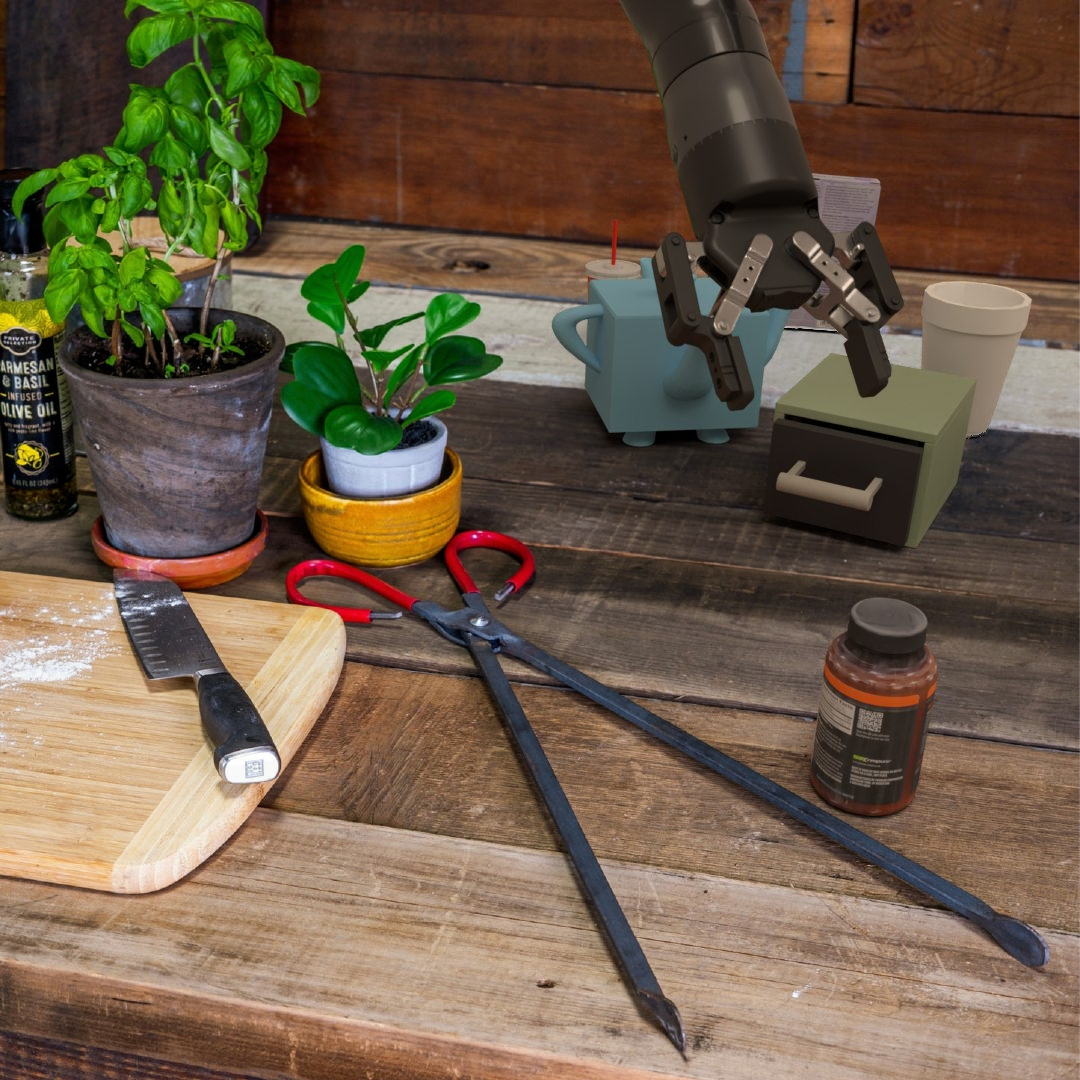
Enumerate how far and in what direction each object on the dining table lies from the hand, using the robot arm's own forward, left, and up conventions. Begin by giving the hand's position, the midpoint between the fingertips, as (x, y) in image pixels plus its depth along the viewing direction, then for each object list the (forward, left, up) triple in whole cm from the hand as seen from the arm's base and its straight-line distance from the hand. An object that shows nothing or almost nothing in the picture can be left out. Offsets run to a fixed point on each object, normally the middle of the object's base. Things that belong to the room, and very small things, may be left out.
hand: (810, 398), depth 71 cm
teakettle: (+23, -39, -20) cm, 49 cm away
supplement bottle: (-8, +7, -20) cm, 22 cm away
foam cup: (0, -53, -20) cm, 57 cm away
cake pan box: (+25, -76, -20) cm, 82 cm away
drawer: (+3, -27, -19) cm, 33 cm away
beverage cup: (+39, -57, -20) cm, 72 cm away
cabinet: (+3, -32, -20) cm, 38 cm away
